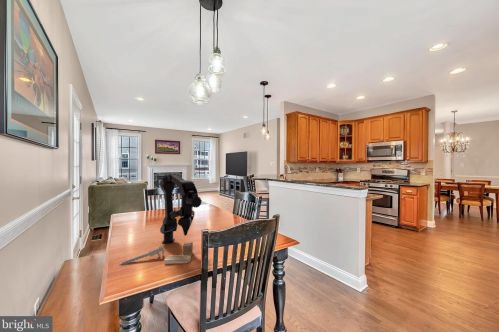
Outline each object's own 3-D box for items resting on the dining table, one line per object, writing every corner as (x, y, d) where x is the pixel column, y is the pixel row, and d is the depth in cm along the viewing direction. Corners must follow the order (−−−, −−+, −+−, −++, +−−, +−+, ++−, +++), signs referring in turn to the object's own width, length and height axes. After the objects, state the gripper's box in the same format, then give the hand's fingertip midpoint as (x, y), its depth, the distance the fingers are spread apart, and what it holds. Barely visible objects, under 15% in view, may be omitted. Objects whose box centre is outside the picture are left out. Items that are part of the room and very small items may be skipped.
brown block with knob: (184, 253, 115) (184, 242, 115) (192, 252, 116) (192, 241, 116) (182, 257, 111) (182, 245, 111) (191, 256, 111) (191, 245, 111)
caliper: (163, 256, 112) (163, 244, 112) (164, 256, 111) (164, 245, 111) (119, 264, 102) (119, 252, 102) (119, 265, 101) (119, 253, 101)
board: (166, 259, 107) (166, 255, 107) (190, 258, 109) (190, 254, 109) (164, 264, 103) (164, 259, 103) (189, 262, 105) (189, 258, 105)
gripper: (175, 201, 123) (175, 227, 123) (167, 208, 104) (167, 239, 105) (194, 200, 124) (194, 226, 125) (190, 208, 106) (190, 238, 106)
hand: (186, 232), depth 115 cm, fingers open, 9 cm apart
